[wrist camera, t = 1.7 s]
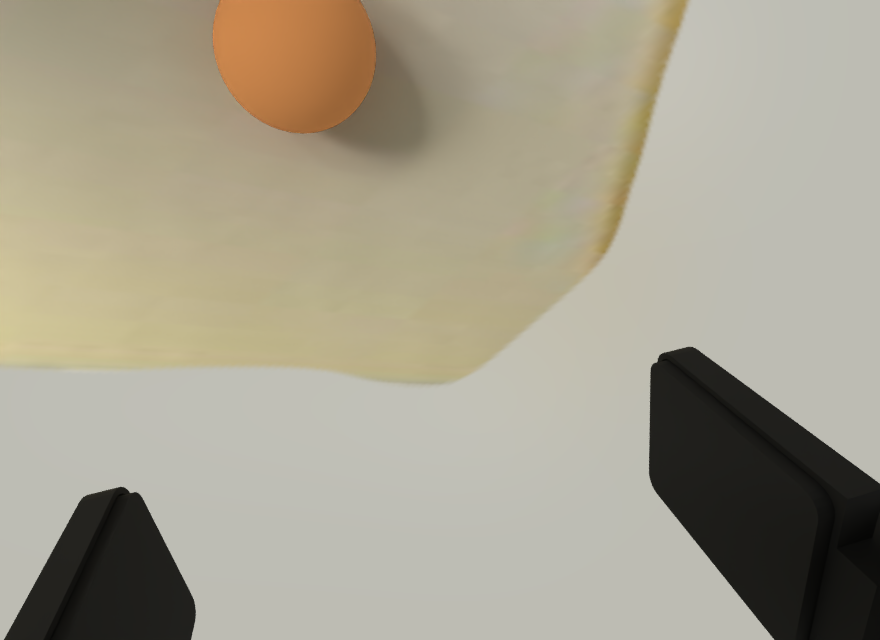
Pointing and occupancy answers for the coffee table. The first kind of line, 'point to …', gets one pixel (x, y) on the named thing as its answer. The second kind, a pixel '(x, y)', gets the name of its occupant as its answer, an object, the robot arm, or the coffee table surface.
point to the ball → (295, 59)
